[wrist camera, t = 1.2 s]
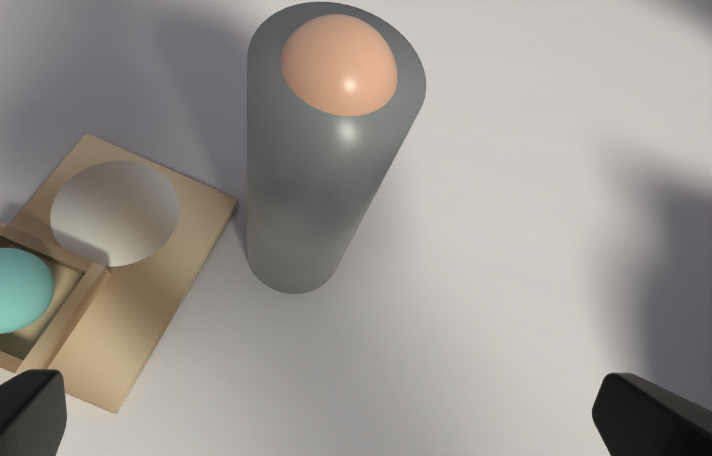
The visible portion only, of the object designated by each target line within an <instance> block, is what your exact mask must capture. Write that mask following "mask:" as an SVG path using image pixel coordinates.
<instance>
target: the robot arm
mask: <svg viewBox="0 0 712 456" xmlns="http://www.w3.org/2000/svg"><path fill="white" fill-rule="evenodd" d="M592 418H593V421H594V424H595V426H596V428H597V430H598V431H599V433H600V435H601V437H602V439H603V441H604V443H605V445H606V447H607V449H608V451H609V453H610V455H611V456H712V412H711V411H709V410H707V409H705V408H703V407H701V406H699V405H697V404H695V403H693V402H691V401H688V400H686V399H684V398H682V397H680V396H678V395H676V394H674V393H672V392H670V391H668V390H666V389H663V388H661V387H659V386H657V385H655V384H653V383H651V382H649V381H647V380H645V379H643V378H641V377H638V376H636V375H634V374H631V373H609V374H608V375H606V376H605V377H604V379H603V382H602V384H601V387H600V389H599V392H598V394H597V397H596V400H595V402H594V405H593V408H592ZM66 422H67V409H66V399H65V388H64V379H63V375H62V373H61V372H60V371H59V370H57V369H29V370H26V371H24V372H22V373H20V374H18V375H17V376H15V377H13V378H11V379H10V380H8V381H6V382H4V383H3V384H1V385H0V456H56V453H57V450H58V448H59V445H60V442H61V440H62V437H63V434H64V431H65V427H66Z"/></svg>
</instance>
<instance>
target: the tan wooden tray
mask: <svg viewBox="0 0 712 456" xmlns="http://www.w3.org/2000/svg"><path fill="white" fill-rule="evenodd" d="M237 205H238V199H236V198H234V197H232V196H230V195H227V194H225V193H223V192H220V191H218V190H216V189H214V188H211V187H209V186H207V185H204V184H202V183H200V182H198V181H195V180H193V179H191V178H188V177H186V176H184V175H182V174H179V173H177V172H175V171H172V170H170V169H168V168H166V167H163V166H161V165H159V164H157V163H154V162H152V161H150V160H147V159H145V158H143V157H141V156H138V155H136V154H134V153H131V152H129V151H127V150H125V149H122V148H120V147H118V146H115V145H113V144H111V143H109V142H106V141H104V140H102V139H99V138H97V137H95V136H93V135H90V134H88V133H86V134H85V135H84V136H83V137H82V138H81V140H80V141H79V142H78V143H77V144H76V146H75V147H74V148H73V149H72V150H71V151H70V153H69V154H68V155H67V156H66V157H65V159H64V160H63V161H62V162H61V163H60V164H59V166H58V167H57V168H56V169H55V170H54V172H53V173H52V174H51V175H50V176H49V177H48V179H47V180H46V181H45V182H44V183H43V185H42V186H41V187H40V188H39V189H38V190H37V192H36V193H35V194H34V195H33V196H32V198H31V199H30V200H29V201H28V202H27V203H26V205H25V206H24V207H23V208H22V209H21V211H20V212H19V213H18V214H17V215H16V216H15V218H14V219H13V220H12V221H11V222H10V224H9V225H7V224H5V223H3V222H0V248H13V249H19V250H23V251H26V252H29V253H31V254H33V255H35V256H36V257H38V258H39V259H41V260H42V261H43V262H44V263H45V264H46V266H47V267H48V268H49V270H50V272H51V274H52V277H53V280H54V295H53V298H52V301H51V303H50V305H49V307H48V309H47V310H46V311H45V313H44V314H43V315H42V316H41V317H40V318H39V319H37V320H36V321H35V322H33V323H32V324H30V325H29V326H27V327H25V328H22V329H20V330H17V331H13V332H9V333H2V334H0V368H3V369H5V370H8V371H10V372H12V373H15V374H17V375H18V374H20V373H22V372H24V371H26V370H29V369H57V370H59V371H60V372H61V373H62V375H63V379H64V388H65V393H66V394H69V395H71V396H74V397H76V398H78V399H81V400H83V401H86V402H88V403H90V404H93V405H95V406H98V407H100V408H102V409H105V410H107V411H110V412H112V413H116V414H117V412H118V410H119V408H120V407H121V405H122V403H123V402H124V400H125V398H126V396H127V395H128V393H129V391H130V389H131V388H132V386H133V384H134V383H135V381H136V379H137V377H138V376H139V374H140V372H141V371H142V369H143V367H144V365H145V364H146V362H147V360H148V358H149V357H150V355H151V353H152V352H153V350H154V348H155V346H156V345H157V343H158V341H159V339H160V338H161V336H162V334H163V333H164V331H165V329H166V327H167V326H168V324H169V322H170V320H171V319H172V317H173V315H174V314H175V312H176V310H177V308H178V307H179V305H180V303H181V302H182V300H183V298H184V296H185V295H186V293H187V291H188V289H189V288H190V286H191V284H192V283H193V281H194V279H195V277H196V276H197V274H198V272H199V270H200V269H201V267H202V265H203V264H204V262H205V260H206V258H207V257H208V255H209V253H210V252H211V250H212V248H213V246H214V245H215V243H216V241H217V239H218V238H219V236H220V234H221V233H222V231H223V229H224V227H225V226H226V224H227V222H228V220H229V219H230V217H231V215H232V214H233V212H234V210H235V208H236V207H237Z"/></svg>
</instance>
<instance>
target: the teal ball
mask: <svg viewBox="0 0 712 456" xmlns="http://www.w3.org/2000/svg"><path fill="white" fill-rule="evenodd" d="M53 295H54V280H53V277H52V274H51V272H50V270H49V268H48V267H47V266H46V264H45V263H44V262H43V261H42V260H41V259H39V258H38V257H36V256H35V255H33V254H31V253H29V252H26V251H23V250H19V249H13V248H0V334H2V333H9V332H13V331H17V330H20V329H22V328H25V327H27V326H29V325H30V324H32V323H33V322H35V321H36V320H37V319H39V318H40V317H41V316H42V315H43V314H44V313H45V311H46V310H47V309H48V307H49V305H50V303H51V301H52V298H53Z"/></svg>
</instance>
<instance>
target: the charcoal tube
mask: <svg viewBox="0 0 712 456" xmlns="http://www.w3.org/2000/svg"><path fill="white" fill-rule="evenodd" d="M425 93H426V78H425V73H424V69H423V66H422V63H421V61H420V59H419V57H418V55H417V53H416V51H415V50H414V48H413V47H412V45H411V44H410V43H409V42H408V41H407V39H406V38H405V37H404V36H403V35H402V34H401V33H400V32H399V31H398V30H396V29H395V28H394V27H392V26H391V25H390V24H389V23H387V22H385V21H384V20H382V19H381V18H379V17H377V16H375V15H373V14H371V13H369V12H367V11H364V10H362V9H359V8H356V7H353V6H349V5H344V4H340V3H332V2H309V3H302V4H297V5H293V6H290V7H287V8H285V9H283V10H280V11H278V12H276V13H275V14H273V15H272V16H270V17H269V18H268V19H267V20H265V21H264V22H263V23H262V24H261V25H260V27H259V28H258V29H257V30H256V32H255V34H254V35H253V37H252V40H251V42H250V45H249V50H248V66H247V240H246V252H247V258H248V262H249V265H250V267H251V269H252V270H253V272H254V274H255V275H256V276H257V277H258V278H259V279H260V280H261V281H262V282H263V283H264V284H266V285H267V286H269V287H271V288H273V289H275V290H277V291H280V292H285V293H293V294H294V293H304V292H308V291H312V290H314V289H316V288H318V287H320V286H321V285H323V284H324V283H325V282H326V281H327V280H328V279H329V278H330V277H331V276H332V274H333V273H334V271H335V269H336V267H337V265H338V264H339V262H340V260H341V258H342V256H343V254H344V252H345V250H346V248H347V247H348V245H349V243H350V241H351V239H352V237H353V235H354V233H355V232H356V230H357V228H358V226H359V224H360V222H361V220H362V218H363V216H364V215H365V213H366V211H367V209H368V207H369V205H370V203H371V201H372V199H373V198H374V196H375V194H376V192H377V190H378V188H379V186H380V184H381V183H382V181H383V179H384V177H385V175H386V173H387V171H388V169H389V167H390V166H391V164H392V162H393V160H394V158H395V156H396V154H397V152H398V150H399V149H400V147H401V145H402V143H403V141H404V139H405V137H406V135H407V134H408V132H409V130H410V128H411V126H412V124H413V122H414V120H415V118H416V117H417V115H418V113H419V111H420V109H421V107H422V105H423V102H424V98H425Z"/></svg>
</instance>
